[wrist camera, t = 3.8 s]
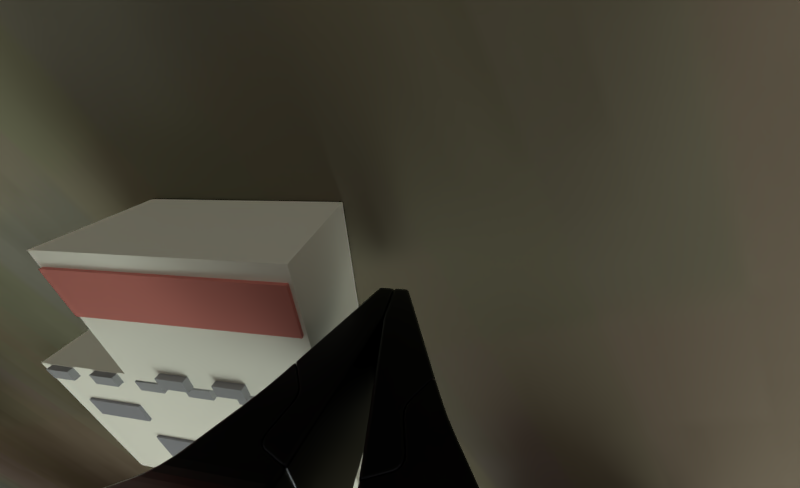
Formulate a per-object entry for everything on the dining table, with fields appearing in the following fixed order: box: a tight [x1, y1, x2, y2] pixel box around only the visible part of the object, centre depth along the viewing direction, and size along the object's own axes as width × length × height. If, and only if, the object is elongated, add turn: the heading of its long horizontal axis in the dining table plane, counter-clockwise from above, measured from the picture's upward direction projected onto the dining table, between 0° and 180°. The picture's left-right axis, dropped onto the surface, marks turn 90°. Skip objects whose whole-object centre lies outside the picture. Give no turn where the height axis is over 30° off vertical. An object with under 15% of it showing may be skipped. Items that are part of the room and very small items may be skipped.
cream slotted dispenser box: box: [41, 329, 363, 488], centre depth 13 cm, size 12×8×3 cm, turn 93°
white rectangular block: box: [27, 199, 359, 401], centre depth 9 cm, size 7×5×4 cm
